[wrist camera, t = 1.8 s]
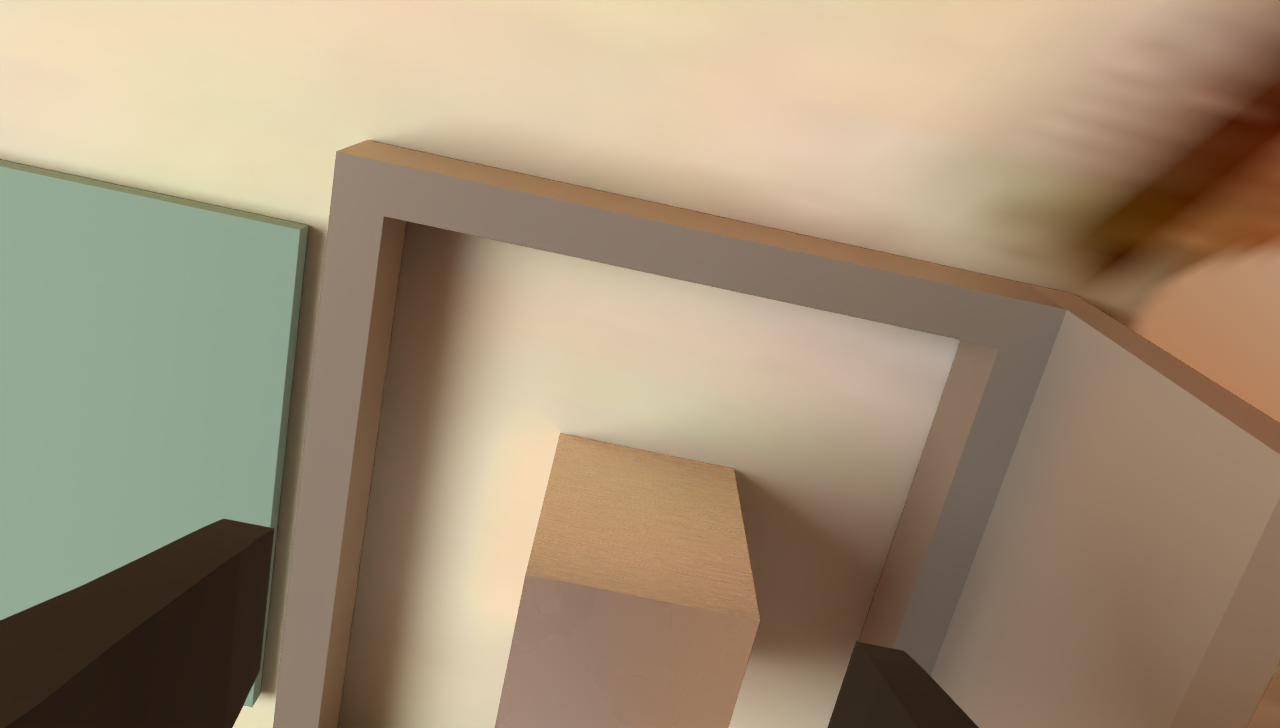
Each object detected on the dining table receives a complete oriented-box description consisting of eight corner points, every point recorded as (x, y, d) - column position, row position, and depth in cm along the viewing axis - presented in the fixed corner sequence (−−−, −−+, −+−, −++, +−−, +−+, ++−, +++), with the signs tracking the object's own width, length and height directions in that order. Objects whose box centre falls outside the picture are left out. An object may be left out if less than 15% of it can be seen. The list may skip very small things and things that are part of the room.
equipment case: (859, 869, 26) (960, 1288, 17) (292, 765, 25) (100, 1149, 16) (1074, 294, 20) (1372, 481, 12) (367, 139, 20) (144, 221, 11)
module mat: (260, 693, 24) (252, 707, 24) (-68, 632, 24) (-82, 644, 23) (308, 225, 20) (300, 230, 20) (-81, 142, 20) (-100, 144, 19)
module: (684, 650, 24) (692, 847, 18) (522, 619, 23) (478, 808, 18) (733, 468, 22) (760, 620, 16) (560, 432, 22) (525, 574, 16)
